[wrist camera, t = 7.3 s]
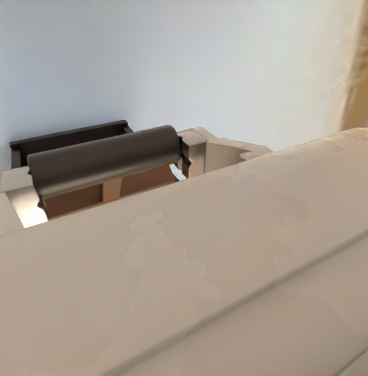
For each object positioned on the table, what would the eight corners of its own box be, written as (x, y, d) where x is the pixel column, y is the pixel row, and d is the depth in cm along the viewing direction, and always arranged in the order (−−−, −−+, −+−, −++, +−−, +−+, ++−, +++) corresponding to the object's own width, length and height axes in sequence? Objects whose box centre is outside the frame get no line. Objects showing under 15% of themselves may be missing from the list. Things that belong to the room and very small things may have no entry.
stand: (6, 142, 27) (2, 241, 16) (127, 119, 31) (189, 182, 20) (18, 169, 28) (22, 274, 18) (131, 143, 33) (189, 213, 22)
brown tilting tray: (-52, 120, 9) (-33, 208, 8) (194, 82, 13) (223, 140, 12) (42, 222, 23) (52, 259, 22) (148, 189, 27) (160, 220, 26)
